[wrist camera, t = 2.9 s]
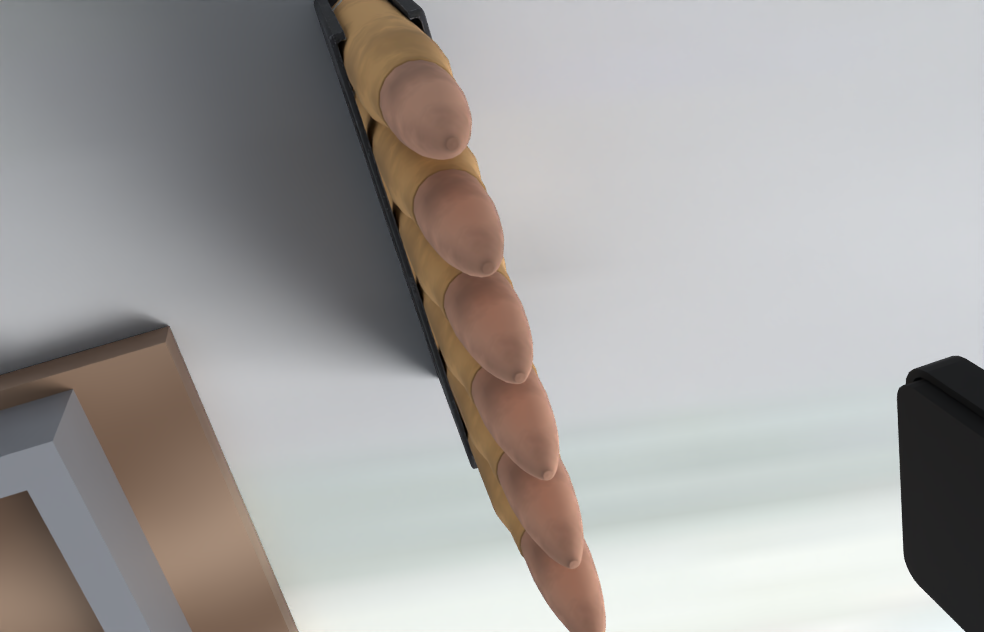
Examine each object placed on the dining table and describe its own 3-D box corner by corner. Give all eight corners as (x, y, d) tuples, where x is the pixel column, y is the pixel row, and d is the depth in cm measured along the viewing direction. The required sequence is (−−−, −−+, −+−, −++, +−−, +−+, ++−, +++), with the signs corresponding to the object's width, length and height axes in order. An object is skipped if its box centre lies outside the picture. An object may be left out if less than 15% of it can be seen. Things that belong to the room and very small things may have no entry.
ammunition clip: (311, -3, 22) (356, 93, 11) (387, -26, 22) (504, 46, 11) (439, 380, 27) (557, 705, 16) (501, 358, 27) (659, 665, 16)
